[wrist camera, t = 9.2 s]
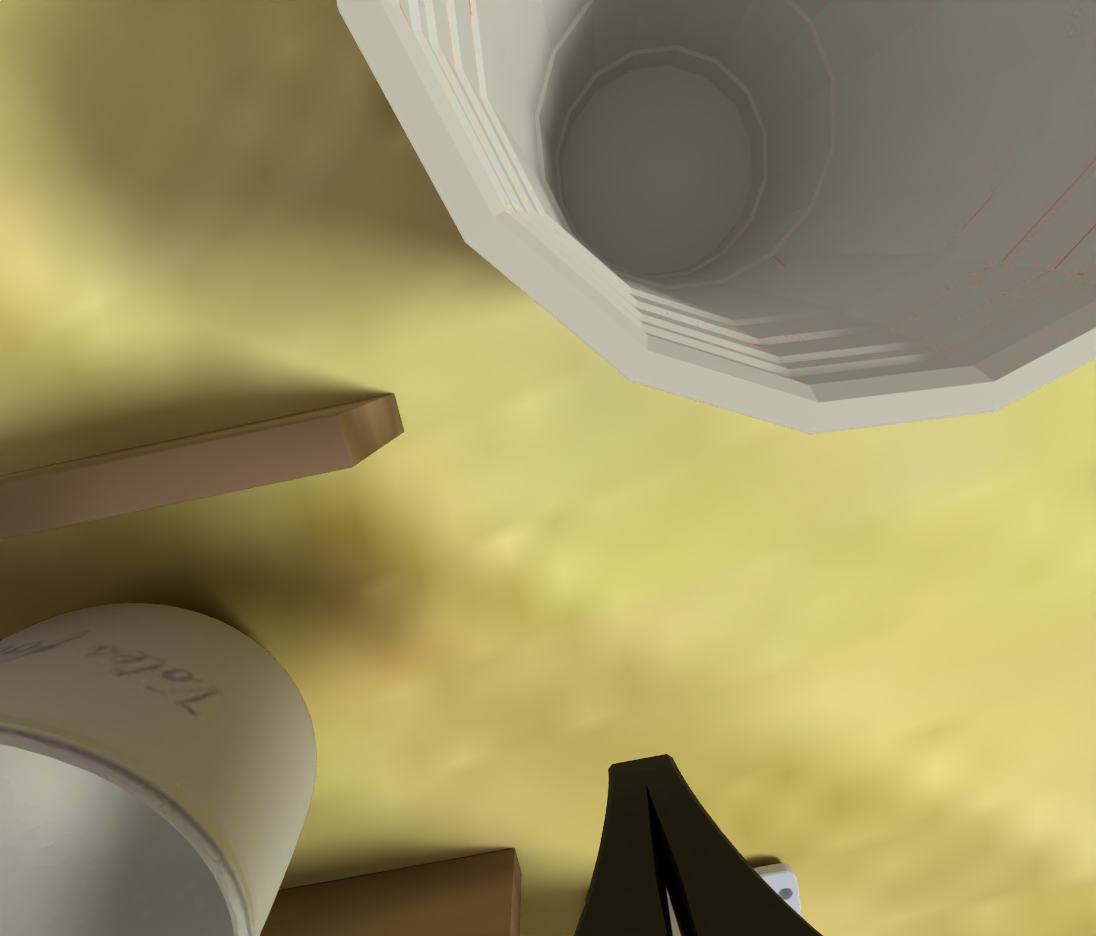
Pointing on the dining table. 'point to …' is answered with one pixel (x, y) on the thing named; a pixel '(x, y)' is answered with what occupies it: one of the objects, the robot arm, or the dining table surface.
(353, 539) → the dining table surface
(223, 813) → the teacup
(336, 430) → the cubby
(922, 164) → the plastic cup
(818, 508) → the dining table surface
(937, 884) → the dining table surface
